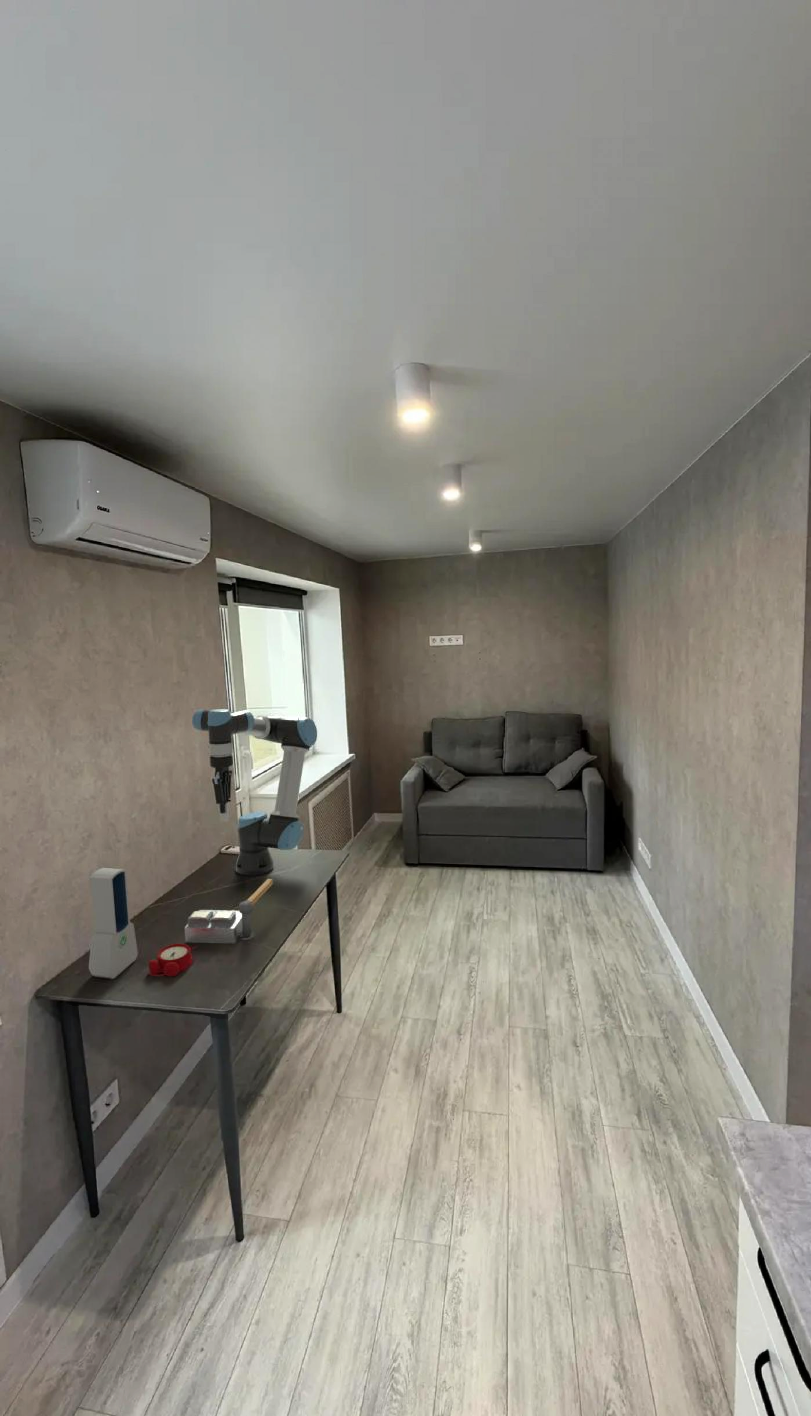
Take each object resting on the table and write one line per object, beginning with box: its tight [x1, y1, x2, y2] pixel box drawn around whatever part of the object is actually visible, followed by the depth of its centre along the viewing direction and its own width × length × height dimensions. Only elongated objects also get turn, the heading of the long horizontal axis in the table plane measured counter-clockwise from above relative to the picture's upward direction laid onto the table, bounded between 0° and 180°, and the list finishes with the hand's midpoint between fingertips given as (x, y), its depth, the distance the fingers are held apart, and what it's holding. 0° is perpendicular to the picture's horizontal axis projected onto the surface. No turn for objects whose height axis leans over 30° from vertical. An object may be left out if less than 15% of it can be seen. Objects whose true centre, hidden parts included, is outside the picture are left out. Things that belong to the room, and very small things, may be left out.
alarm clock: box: [148, 943, 197, 978], centre depth 178 cm, size 10×6×15 cm
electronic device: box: [88, 867, 139, 980], centre depth 176 cm, size 12×8×30 cm, turn 168°
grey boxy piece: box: [184, 909, 256, 945], centre depth 197 cm, size 12×21×7 cm, turn 86°
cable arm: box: [238, 878, 274, 937], centre depth 203 cm, size 22×4×11 cm, turn 170°
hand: (224, 821), depth 210 cm, fingers closed
